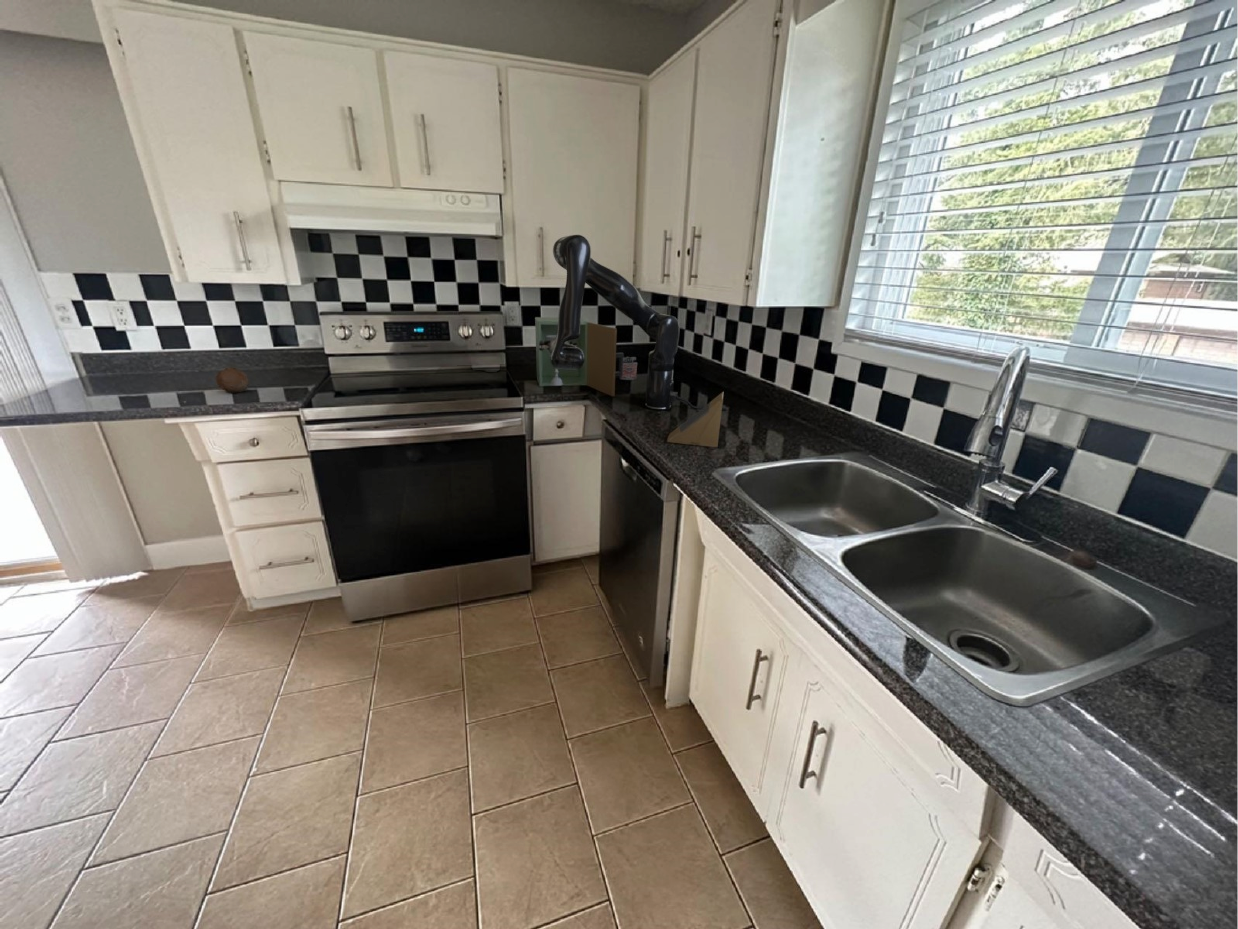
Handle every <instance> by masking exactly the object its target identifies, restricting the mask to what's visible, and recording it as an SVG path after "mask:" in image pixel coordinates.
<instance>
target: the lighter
mask: <svg viewBox="0 0 1238 929" xmlns="http://www.w3.org/2000/svg"><path fill="white" fill-rule="evenodd" d="M637 369H638V362H637V357H636V356H631V357H630V356H626V357H623V376H618V380H622V381H624V380H625V381H634V380H637V379H638V377H637Z"/></svg>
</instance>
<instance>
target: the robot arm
mask: <svg viewBox="0 0 1238 929" xmlns="http://www.w3.org/2000/svg"><path fill="white" fill-rule="evenodd" d="M552 254H553V258H554V260H555V262H556V263H557V264H558V266H560V267H561V268H563V269H564V270H566V281H565V287H564V289H563V290H564V291H563V294H562V298H561V301H560V304H559V308H558V314H557V315H558V316H557V318H558V332H557V337H556V338H554V339H553V340H545V341H544V342H543V341H539V350H540V351H542V350H544V348H547V350H549V352H550V354H551V364H552V366H553V367H554V368H556V369H568V370H578V369H580V368H581V367H582V366H583V364H584V360H585V358H584V353H583V351H582V350H581V349H580V348H579V347H577V343H576V342H574V341H570V342H568V340H575V339H578V338H579V336H580V325H581V318H582V307H583V299H584V294H585V287H586V285H587V286H589V287H590V288H591V289H592V290H593V291H594V292H595V293H597V294H598V295H599V296H601V297H602V298H603V299H604V300H605V301H606V302H607V303H608V304H610V305H611V306H612V307H613V308H614V309H616V310H618V311H619V312H620V313H621V314H623V315H624V316H625V317H627V318H629V319H630V320H631V321H633V322H634V323H635V324H636V325H637V326H638V327H639V328H640V329H641V330H642V331H643V332H644V333H645V334H646V335H647V336H648V337H649V338H650V339H652V340H653V341H655V347H654V349H653V350H651V351H649V353H648V362H647V379H646V393H645V394H646V395H645V398H644V401H645V408H647V409H650V410H654V411H669V410H670V409H671V408H672V407H673V402H674V403H675V402H676V401H677V400H680V401H683V402H684V403H686V404H688V405H689V406H690V408H692V409H696V410H701V409H702V408H703V407H705V406H706V405H704V406H695V405H693V404H692V403H691V402H690V401H689V400H688V399H685V398H683V397H680V396H678V391H674V381H673V380H674V379H673V377H674V366H675V357H676V355H677V352H678V346H679V340H680V323H679V320H678V319H677V318H676V316H673V315H671V314H670V315H669V314H664V313H661V312H659V311H656V310H655V309H653V307H651V306H649V305H648V304H647V303H646V302H645V301H644V299H643V297H642V296H641V293H640V291H638V289H637V288H636V286H635V285H634V284H632V282H630V281H629V280H628V279H627V278H625V277H624V276H622V274H620V273H618V272H616V271H615V270H613V269H611V268H608V267H607V266H605V265H602V264H601V263H598V262H597V261H595V260H594V259H593V258H592V257H591V256H592V248H591V244H590V242H589V240H588V239H587V238H586V237H585V236H584V235H581V234H571V235H565V236H562V237H559V238H558V239H557V240H555V242H554V243H553V246H552ZM722 411H727V408H726V407H722Z"/></svg>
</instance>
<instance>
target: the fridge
mask: <svg viewBox="0 0 1238 929" xmlns="http://www.w3.org/2000/svg"><path fill="white" fill-rule="evenodd" d="M588 322H589V321H588V320H586V319H585V318H584V317H581V325H580V336H579V338H578V339H575V340H568V342H570V341H574V342H576V343H577V347H579V348H580V349H581V350H582V351H583V353H584V358H585V360H584V364H583V366H582V367H581V368H580V369H578V370H568V369H558V371H559V372H558V378H560V379H561V381H562V383H563V385H560V387H561V386H566V387H567V386H587V331H588ZM534 323H535V324H534V325H535V330H534V331H535V354H536V355H535V358H536V360H535V361H536V362H535V363H536V364H535V365H536V380H537V383H538V385H539V387H554V386H553V385H550V383H551V381H552V379H553V378H554V377H555V372H554V371H555V368H554V367H553V366H552V364H551V357H550V355H549V352H548V350H547V348H544V350H542V351H540V350H539V341H543V342H544V341H545V340H547V338H546V336H549V335H557V332H558V317H549V316H548V317H543V316H541V317H540V316H535V317H534Z"/></svg>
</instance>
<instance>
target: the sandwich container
mask: <svg viewBox="0 0 1238 929" xmlns="http://www.w3.org/2000/svg"><path fill="white" fill-rule="evenodd" d="M723 404H724V391H722V392H721V393H719V394H718V395H717V396H716V397H714V398H713V399H711V401H709V402H708V403H707V404H706V405H704V406H705V407H704V406H702V407H703V408H702V409H698V411H697V412H695V413H694V414H693V415H691V416H690V417H689V418H688V419H686V420H685V421H684V422H683V423H681V424H680V425H679V426H677V427H676V428H675V429H674V430H673V431H671V432H670V433H669V434H668V436H667V439H666V442H667V443H672V444H673V443H674V444H683V445H693V446H701V447H711V448H718V446H719V437H720V429H721V419H722V412H723V410H722V408H723Z"/></svg>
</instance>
